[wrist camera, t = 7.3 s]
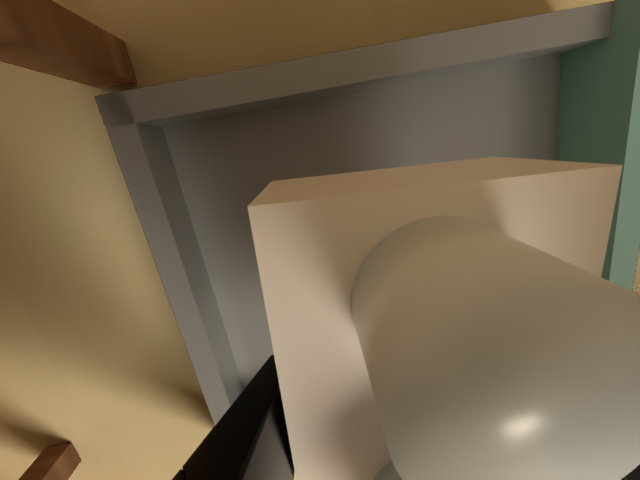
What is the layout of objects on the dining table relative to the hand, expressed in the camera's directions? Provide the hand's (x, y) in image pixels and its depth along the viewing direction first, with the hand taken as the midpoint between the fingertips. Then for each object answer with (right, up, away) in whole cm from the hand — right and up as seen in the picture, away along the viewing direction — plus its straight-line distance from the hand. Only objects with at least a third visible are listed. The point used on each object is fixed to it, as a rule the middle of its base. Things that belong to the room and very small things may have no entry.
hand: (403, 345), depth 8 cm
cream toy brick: (0, 0, +1) cm, 2 cm away
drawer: (+1, +2, +7) cm, 7 cm away
